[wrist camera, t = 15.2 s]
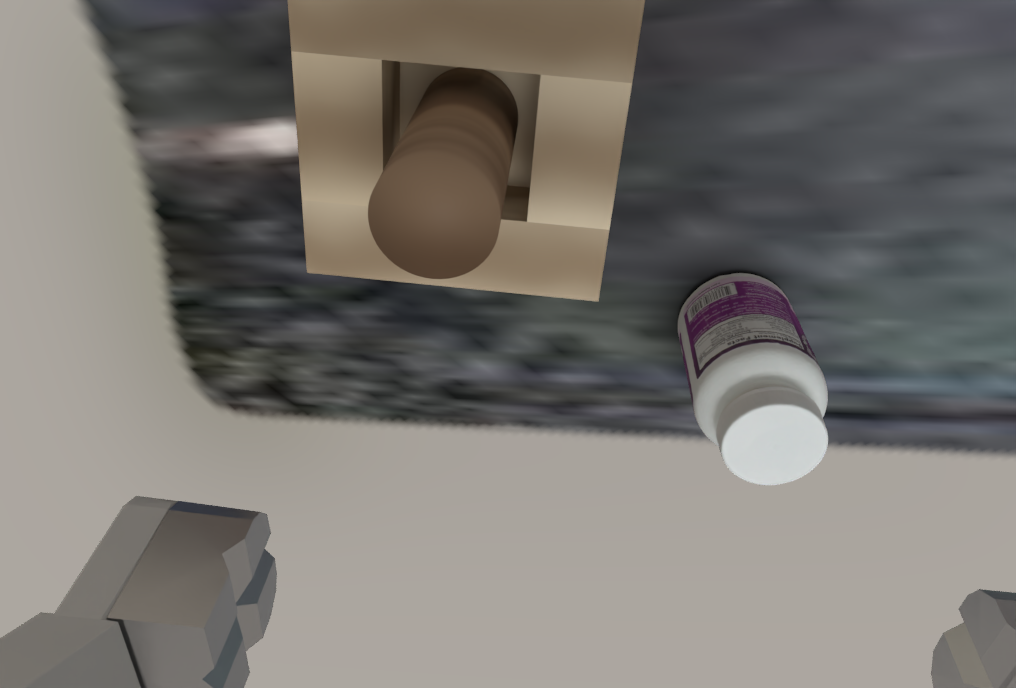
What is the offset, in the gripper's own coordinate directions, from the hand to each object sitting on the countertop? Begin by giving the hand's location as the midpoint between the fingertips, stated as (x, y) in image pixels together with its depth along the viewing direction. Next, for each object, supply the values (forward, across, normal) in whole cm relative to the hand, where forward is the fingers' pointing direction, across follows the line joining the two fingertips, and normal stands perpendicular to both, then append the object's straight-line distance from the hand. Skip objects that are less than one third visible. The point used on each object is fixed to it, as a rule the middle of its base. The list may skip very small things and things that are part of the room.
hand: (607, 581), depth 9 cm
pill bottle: (+27, -8, +13) cm, 31 cm away
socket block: (+27, +5, +4) cm, 28 cm away
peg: (+26, +5, +4) cm, 26 cm away
